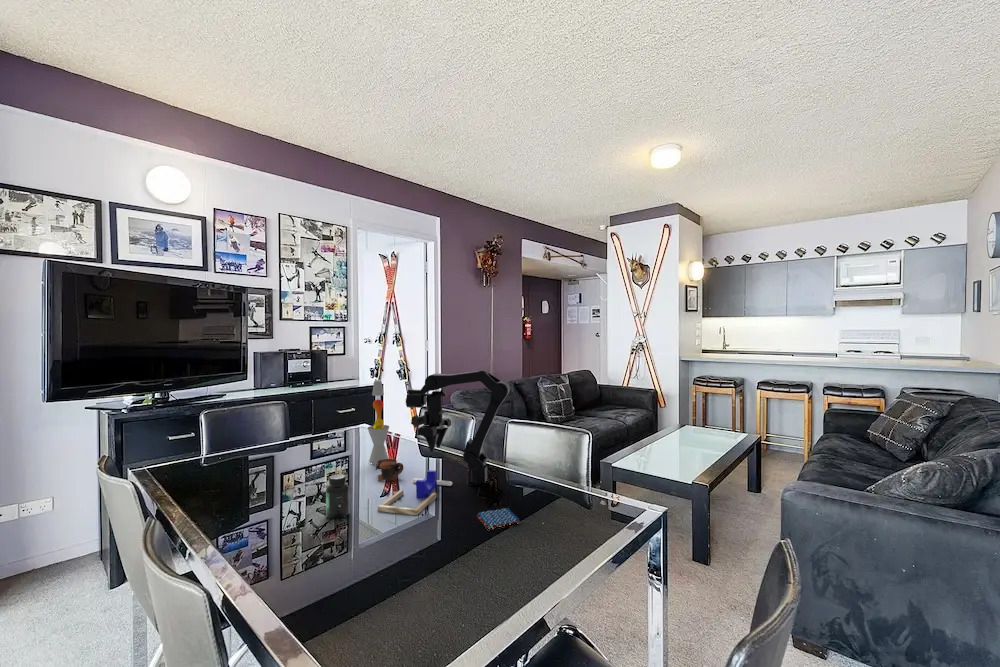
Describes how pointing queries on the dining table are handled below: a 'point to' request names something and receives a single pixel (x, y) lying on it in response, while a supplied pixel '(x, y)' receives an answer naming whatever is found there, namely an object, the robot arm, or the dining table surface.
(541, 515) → the dining table surface
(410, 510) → the frame
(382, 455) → the lava lamp
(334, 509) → the supplement bottle
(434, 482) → the cable clip
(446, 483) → the white peg
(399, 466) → the pottery mug
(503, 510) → the woven mat
